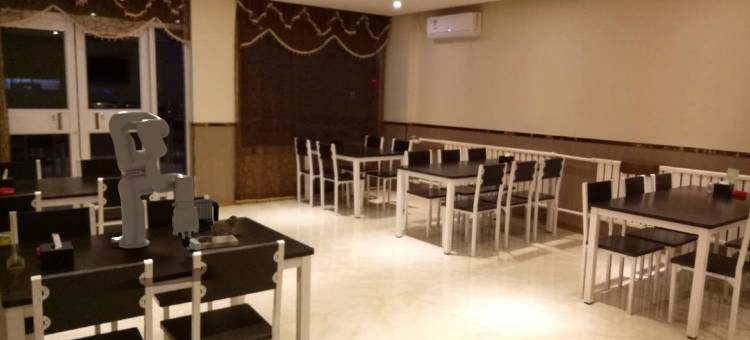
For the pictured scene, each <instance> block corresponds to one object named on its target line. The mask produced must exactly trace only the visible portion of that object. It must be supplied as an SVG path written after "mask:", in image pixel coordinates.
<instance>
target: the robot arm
mask: <svg viewBox="0 0 750 340" xmlns="http://www.w3.org/2000/svg"><path fill="white" fill-rule="evenodd" d="M108 130H109V131H108V132H109V134H110V136H111V139H112V142H113V146H114V153H115V157H116V163H117V167H118V169H119V171H120V172H122V173H123V174H124V173H127V174H128V173H130V174H131V173H137V172H138V173H139V174H133V175H127V176H125V177H123V178H121V179H120V180H119V182H118V184H117V189H118V193H119V197H120V204H121V208H120V209H121V230H122V231H121V232H122V234H121V235H120V236H119V237H112V238H111V243H119V244H118V246H119V248H122V249H139V248H144V247H147V246H149V245H150V240H148V239H146V237H147V235H146V213H145V212H146V211H145V210H146V209H145V203H144V201H143V200H142V199H141V196H146V195H147V196H148V195H151V194H154V193H158V194H164V193H168V192H174V197H175V199H174V202H171V206H172V207H174V209H173V214H172V220H171V221H172V224H171V225H172V235H174V236H179V237H180V238H181V246H182V247H183V248H185V249H187V247H189V245H190V238H191V237H193V235H194V234H196V233H199V232H200V231H199V230H198V229H199V220H198V213H197V208H196V207H195V202H194V201H195V182H194V181H195V180H194V179H195V178H194V177H193V176H192V175H188V174H182V173H178V172H173V173H165V174H161V172H160V170H159V167H158V161H159V159H160V158H162V157H163V156H165V155H166V154H167V152H168V148H167V145H166V144H165V141H164V139H163V138H166V137H168V136H169V134H170V126H169V124H168V122H167V121H166V120H165V119H163V118H161V117H159V116H158V115H155V114H153V113H150V112H149V111H145V110H142V111H141V110H140V111H139V110H138V111H134V110H133V111H130V110H128V111H127V110H126V111H118V112H115V113H114V114H113V115H111V117H110V118H109V121H108ZM129 131H130V132H131V131H136V134H137V136H138V137H139V140H140V142H141V144H142V147H143V149H141V150H137V149H136V143H135V140H134V138H133V136H132V135H131V134H130V133H129Z"/></svg>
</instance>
